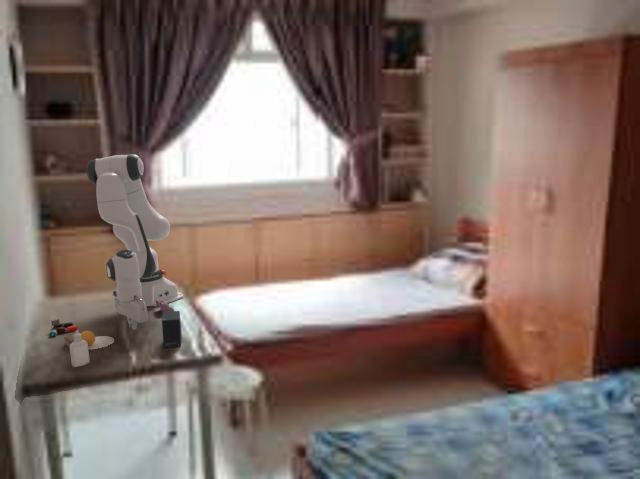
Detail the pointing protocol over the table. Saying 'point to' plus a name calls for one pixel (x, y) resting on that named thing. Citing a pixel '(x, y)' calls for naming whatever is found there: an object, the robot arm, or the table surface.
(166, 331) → the small box
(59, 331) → the toy gun
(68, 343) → the rail
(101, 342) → the white flat disc
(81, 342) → the eye dropper bottle
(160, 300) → the video game controller
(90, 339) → the ball
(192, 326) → the table surface
